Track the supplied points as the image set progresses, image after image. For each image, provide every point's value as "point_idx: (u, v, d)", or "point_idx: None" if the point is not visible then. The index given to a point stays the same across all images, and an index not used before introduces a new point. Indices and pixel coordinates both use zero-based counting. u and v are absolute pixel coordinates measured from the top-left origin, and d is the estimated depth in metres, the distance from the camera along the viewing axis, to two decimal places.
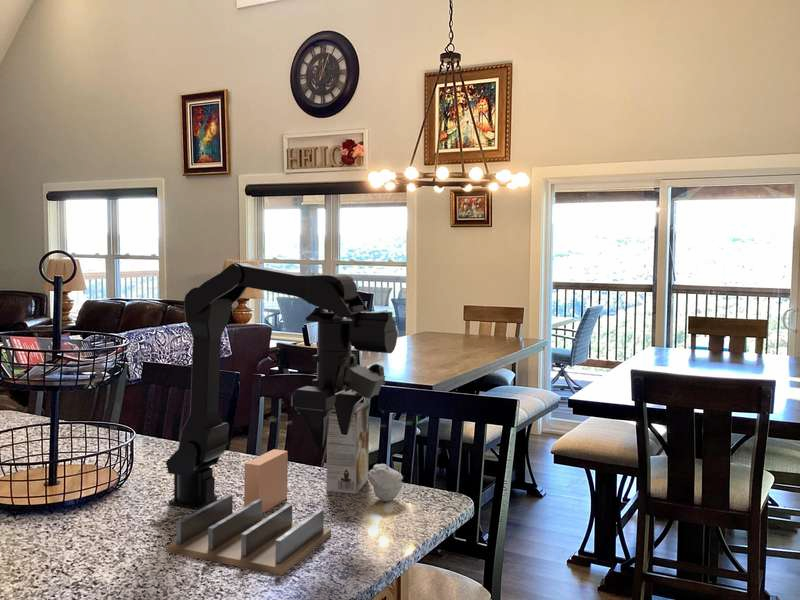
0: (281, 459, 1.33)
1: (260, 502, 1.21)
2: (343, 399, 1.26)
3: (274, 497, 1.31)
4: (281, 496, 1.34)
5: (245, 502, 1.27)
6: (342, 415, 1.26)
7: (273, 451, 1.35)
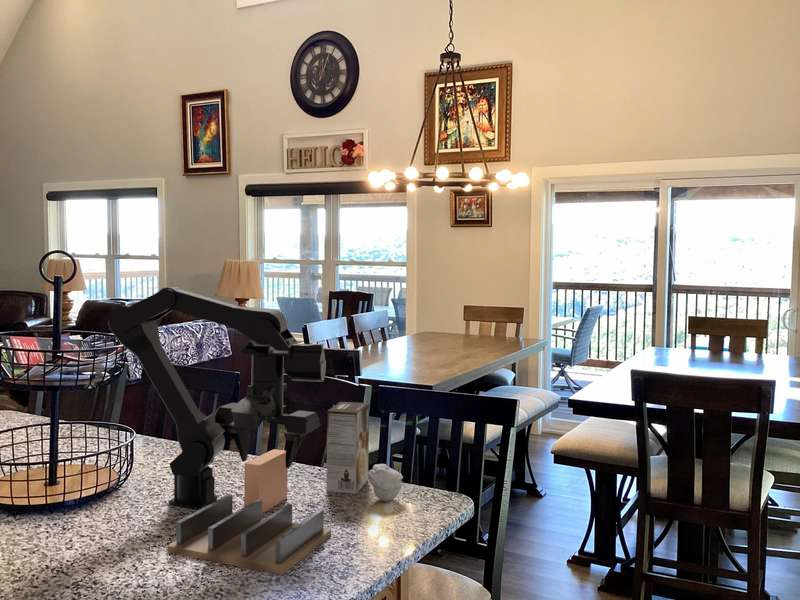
0: (281, 459, 1.33)
1: (260, 502, 1.21)
2: None
3: (274, 497, 1.31)
4: (281, 496, 1.34)
5: (245, 502, 1.27)
6: None
7: (273, 451, 1.35)
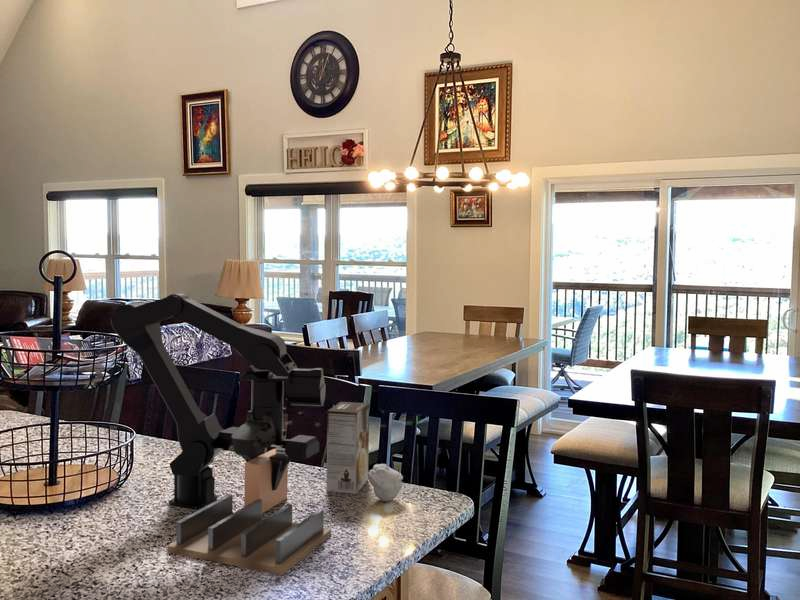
0: None
1: (260, 502, 1.21)
2: None
3: (274, 497, 1.31)
4: (281, 495, 1.34)
5: (245, 502, 1.27)
6: None
7: (273, 451, 1.35)
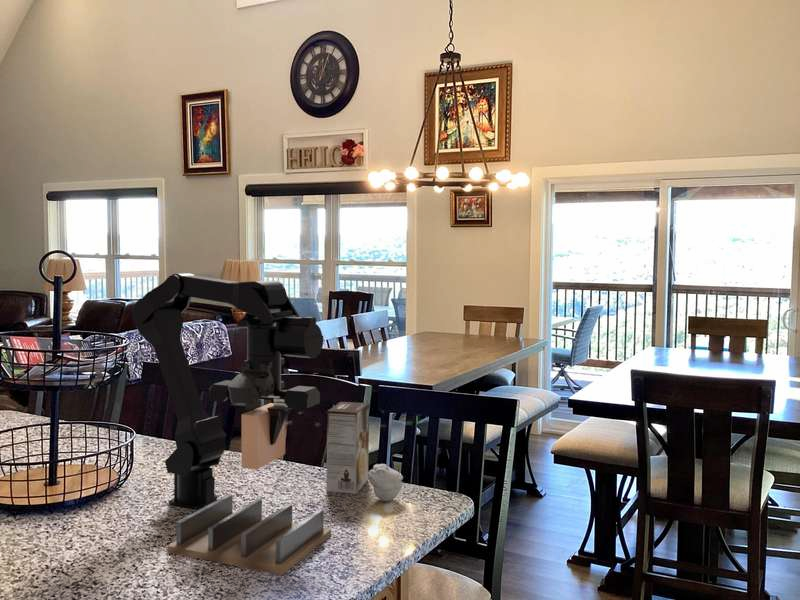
0: None
1: (260, 502, 1.21)
2: None
3: (272, 452, 1.24)
4: (279, 451, 1.27)
5: (242, 456, 1.20)
6: None
7: (270, 404, 1.28)
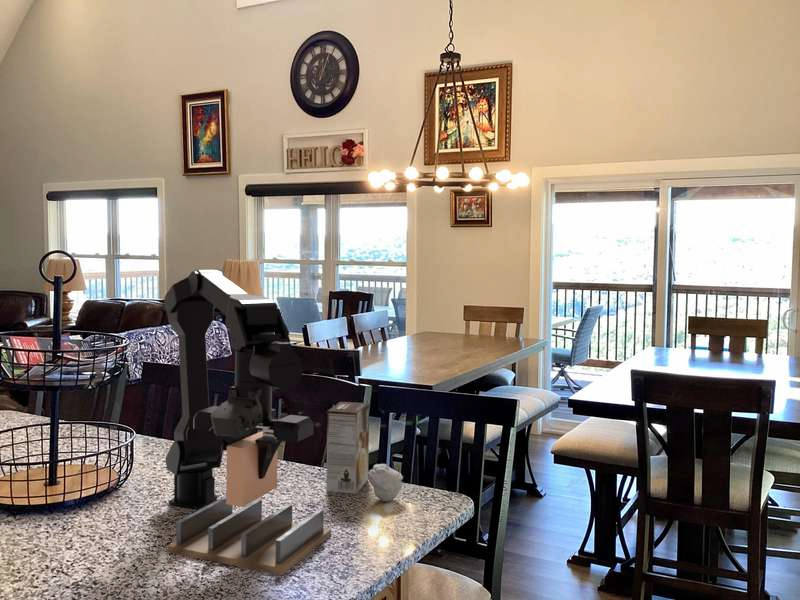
0: None
1: (260, 502, 1.21)
2: None
3: (261, 486, 1.14)
4: (270, 484, 1.16)
5: (227, 491, 1.10)
6: None
7: (261, 433, 1.17)
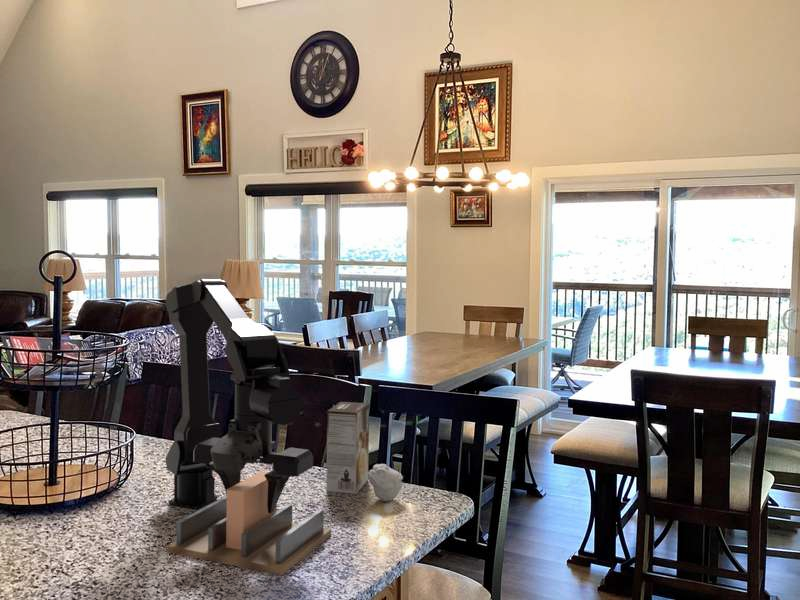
0: None
1: None
2: None
3: None
4: None
5: (227, 534, 1.10)
6: None
7: (260, 474, 1.17)
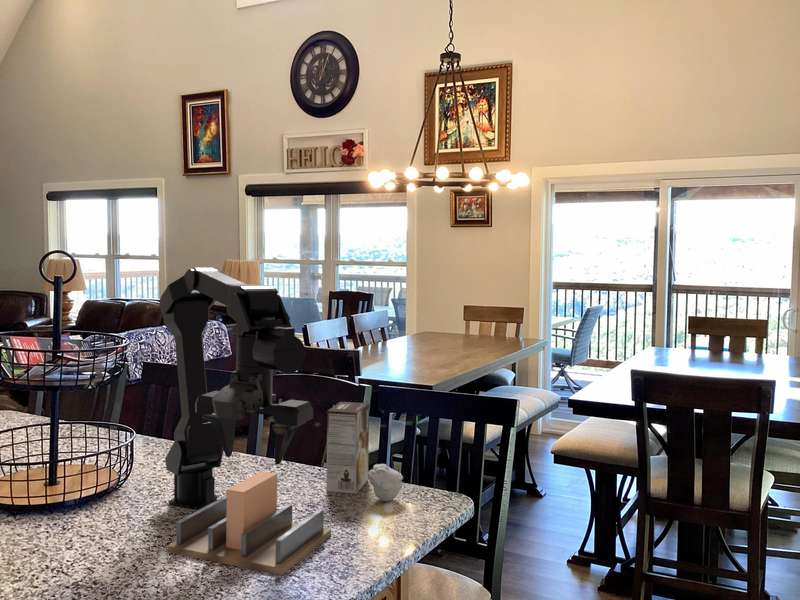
0: (270, 484, 1.16)
1: None
2: None
3: None
4: None
5: (227, 534, 1.10)
6: None
7: (260, 474, 1.17)
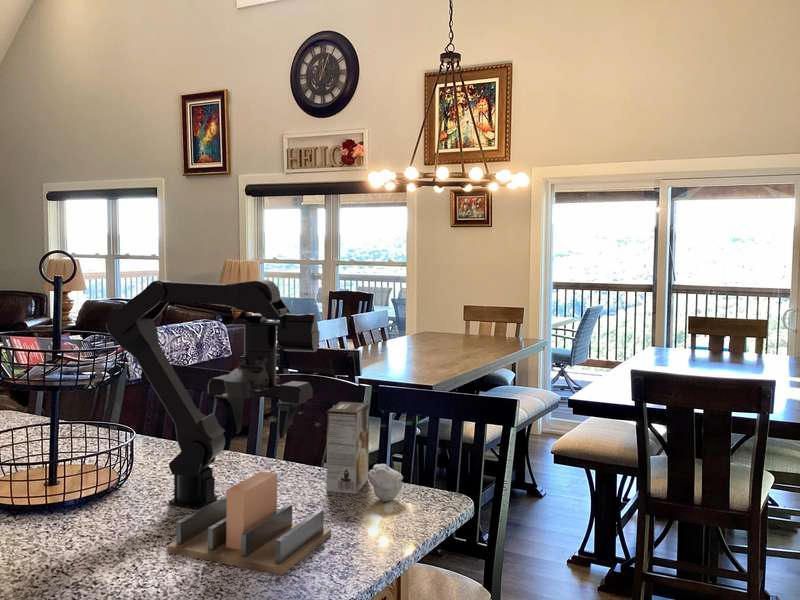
0: (270, 484, 1.16)
1: None
2: None
3: None
4: None
5: (227, 534, 1.10)
6: None
7: (260, 474, 1.17)
